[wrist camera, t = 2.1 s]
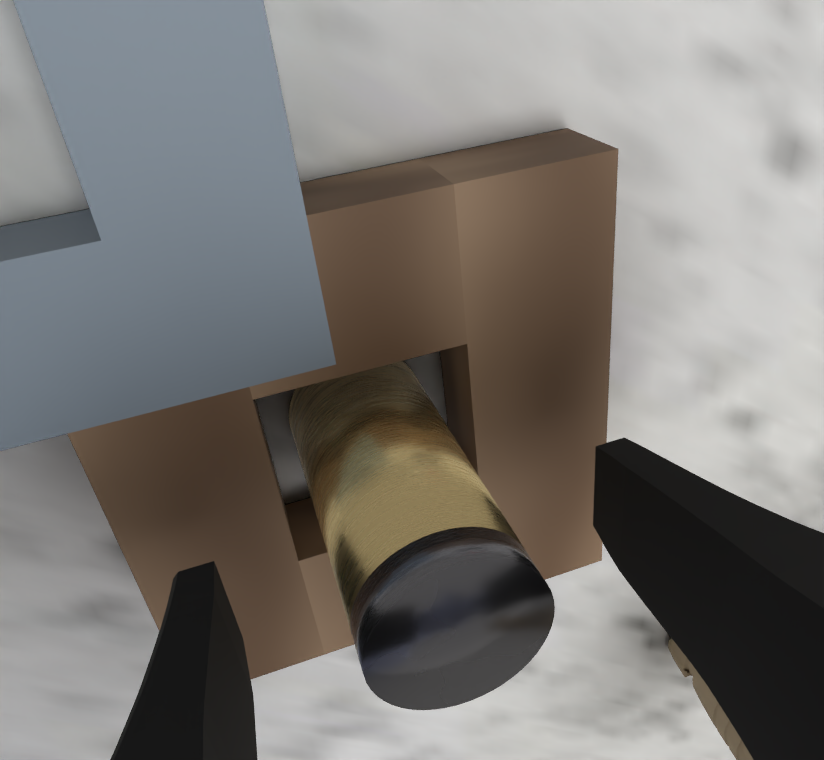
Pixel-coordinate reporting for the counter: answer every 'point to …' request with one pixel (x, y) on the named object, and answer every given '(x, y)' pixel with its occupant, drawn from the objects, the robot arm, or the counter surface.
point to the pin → (415, 543)
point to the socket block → (157, 221)
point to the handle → (710, 704)
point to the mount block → (389, 343)
